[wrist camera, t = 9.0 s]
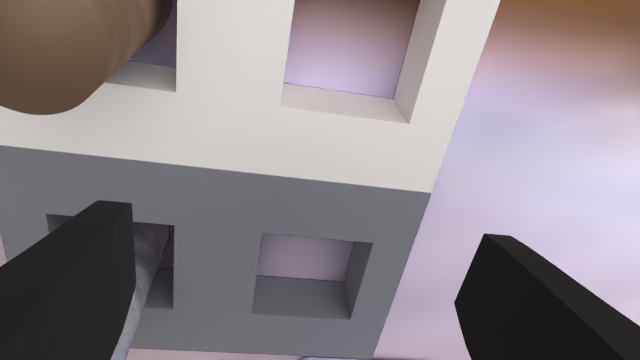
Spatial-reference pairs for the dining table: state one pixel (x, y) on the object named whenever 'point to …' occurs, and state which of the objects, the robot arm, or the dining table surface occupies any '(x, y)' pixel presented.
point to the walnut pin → (68, 48)
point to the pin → (142, 277)
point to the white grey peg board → (252, 174)
